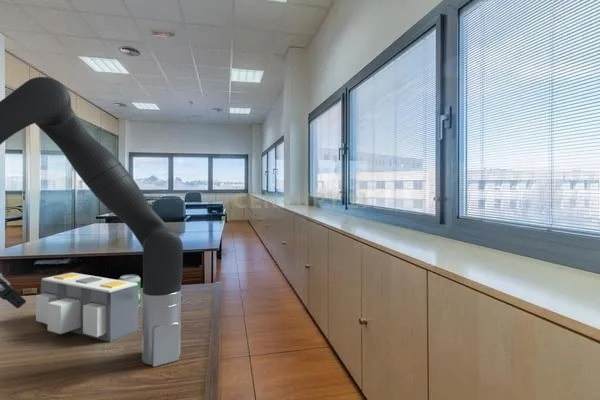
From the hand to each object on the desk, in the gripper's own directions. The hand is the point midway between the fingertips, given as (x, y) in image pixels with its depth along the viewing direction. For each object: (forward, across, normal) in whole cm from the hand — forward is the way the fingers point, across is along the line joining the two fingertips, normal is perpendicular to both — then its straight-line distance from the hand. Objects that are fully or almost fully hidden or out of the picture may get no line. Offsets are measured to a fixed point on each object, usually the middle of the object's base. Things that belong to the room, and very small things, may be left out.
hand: (21, 304), depth 81 cm
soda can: (+37, +20, -18) cm, 46 cm away
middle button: (+21, +13, -3) cm, 25 cm away
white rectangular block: (+22, +24, -3) cm, 33 cm away
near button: (+24, +3, -8) cm, 25 cm away
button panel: (+26, +14, -6) cm, 30 cm away
